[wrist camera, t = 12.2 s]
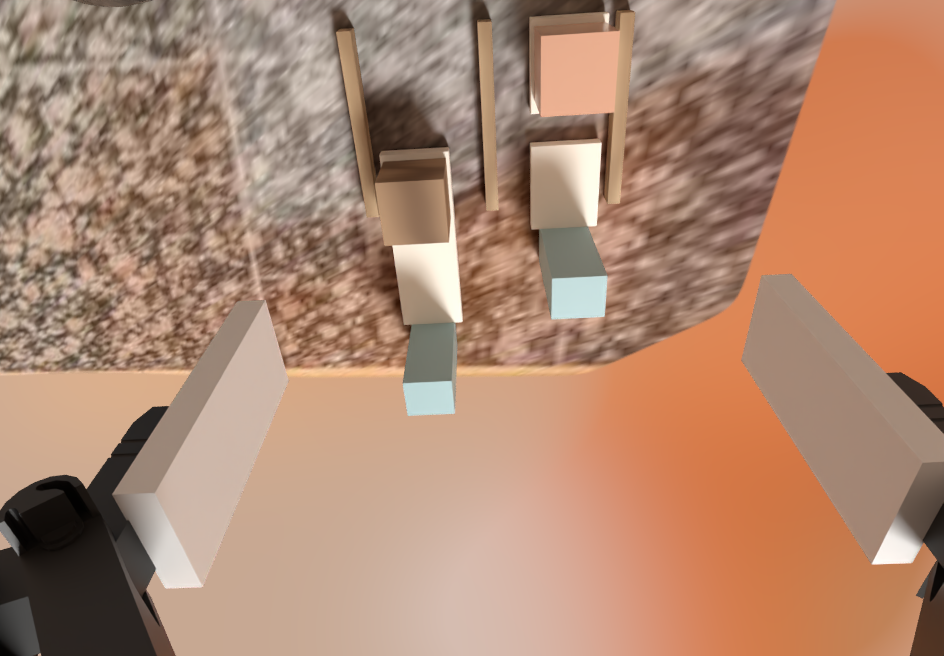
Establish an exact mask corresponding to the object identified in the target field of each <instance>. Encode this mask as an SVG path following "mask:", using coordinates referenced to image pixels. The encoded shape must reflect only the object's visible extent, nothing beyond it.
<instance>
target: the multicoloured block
mask: <svg viewBox="0 0 944 656" xmlns="http://www.w3.org/2000/svg"><path fill="white" fill-rule="evenodd" d="M379 157H380V164H381V166H382V164H383V162H385V161H402V160H419V159H436V158H446V165H447V177H448V188H449V200H450V212H451V222H450V235H449V243H430V244H412V245H393V246H392V247H393V253H394V260H395V267H396V274H397V281H398V288H399V295H400V302H401V309H402V315H403V322H404V325H412V327H411V333H410V340H409V346H408V352H407V359H406V365H405V372H404V378H403V389H404V394H405V401H406V407H407V414H408V416H412V415H433V414H454V413H455V396H456V369H457V336H456V325H455V322H462V316H463V315H462V302H461V290H460V277H459V265H458V252H457V240H456V227H455V215H454V202H453V190H452V177H451V165H450V152H449V147H441V148H424V149H407V150H390V151H381V153H380V155H379Z"/></svg>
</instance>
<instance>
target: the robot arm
mask: <svg viewBox="0 0 944 656" xmlns="http://www.w3.org/2000/svg"><path fill="white" fill-rule="evenodd" d="M74 1H77V2H80V3H85V4H89V5H95V6H103V7H123V6H129V5H135V4H140V3H145V2H149V1H152V0H74ZM742 362H743V364H744V365H745V367H746V368H747V370H748V372H749V373H750V375H751V376H752V378H753V379H754V381H755V382H756V384H757V386H758V387H759V389H760V390H761V392H762V393H763V395H764V397H765V398H766V400H767V401H768V403H769V404H770V406H771V407H772V409H773V411H774V412H775V414H776V415H777V417H778V418H779V420H780V422H781V423H782V425H783V426H784V428H785V429H786V431H787V433H788V434H789V436H790V437H791V439H792V440H793V442H794V443H795V445H796V447H797V448H798V450H799V451H800V453H801V454H802V456H803V458H804V459H805V461H806V462H807V464H808V465H809V467H810V469H811V470H812V472H813V473H814V475H815V476H816V478H817V480H818V481H819V483H820V484H821V486H822V487H823V489H824V491H825V492H826V494H827V495H828V497H829V498H830V500H831V501H832V503H833V505H834V506H835V508H836V509H837V511H838V512H839V514H840V515H841V517H842V519H843V520H844V522H845V523H846V525H847V527H848V528H849V530H850V531H851V533H852V534H853V536H854V538H855V539H856V541H857V542H858V544H859V545H860V547H861V548H862V550H863V552H864V553H865V555H866V556H867V558H868V559H869V561H870V563H871V564H894V563H912V562H913V560H914V559H915V557H916V555H917V553H918V551H919V550H920V548H921V546H922V544H923V543H925V544H926V546H927V547H928V548H929V550H930V551H931V552H932V554H933V555H934V556H935V558H936V559H937V561H936V562H935V564H934V566H933V567H932V569H931V571H930V573H929V574H928V576H927V578H926V579H925V581H924V583H923V584H922V586H921V588H920V589H919V591H918V593H917V594H916V596H918V597H920V598H924V599H923V603H922V608H921V612H920V616H919V620H918V624H917V628H916V632H915V637H914V641H913V645H912V650H911V653H910V656H944V407H943V406H942V403H941V402H940V401H939V400H938V399H937V398H936V397H935V396H934V395H933V394H932V393H931V392H930V391H929V390H928V389H927V388H926V387H925V386H923V385H922V384H920V383H918V382H916V381H915V380H913V379H911V378H909V377H908V376H906V375H905V374H903V373H901V372H899V373H885V372H884V371H883V370H882V369H881V368H880V367H879V365H878V364H877V363H876V362H875V361H874V360H873V359H872V358H871V357H870V356H869V355H868V354H867V353H866V352H865V351H864V350H863V349H862V348H861V347H860V346H859V345H858V343H856V342H855V340H854V339H853V338H852V337H851V336H850V335H849V334H848V333H847V332H846V331H845V330H844V329H843V328H842V327H841V326H840V325H839V323H838V322H837V321H835V319H834V318H833V317H832V316H831V315H830V314H829V313H828V312H827V311H826V310H825V309H824V308H823V307H822V306H821V305H820V304H819V303H818V301H817V300H816V299H815V298H814V297H812V295H811V294H810V293H809V292H808V291H807V290H806V289H805V288H804V287H803V286H802V285H801V284H800V283H799V282H798V280H797V279H796V278H795V277H794V276H793V275H792V274H780V275H762V276H761V280H760V284H759V289H758V293H757V297H756V301H755V305H754V309H753V314H752V318H751V322H750V326H749V331H748V335H747V340H746V343H745V348H744V352H743V356H742ZM287 384H288V377H287V373H286V370H285V366H284V363H283V359H282V356H281V352H280V349H279V345H278V342H277V339H276V335H275V332H274V328H273V325H272V321H271V318H270V314H269V311H268V307H267V304H266V300H256V301H237V303H236V304H235V306H234V307H233V309H232V310H231V312H230V313H229V315H228V317H227V318H226V320H225V321H224V323H223V324H222V326H221V327H220V329H219V330H218V332H217V334H216V335H215V337H214V338H213V340H212V341H211V343H210V344H209V346H208V347H207V349H206V350H205V352H204V354H203V355H202V357H201V358H200V360H199V361H198V363H197V364H196V366H195V367H194V369H193V370H192V372H191V374H190V375H189V377H188V378H187V380H186V381H185V383H184V384H183V386H182V388H181V389H180V391H179V392H178V394H177V395H176V397H175V398H174V400H173V401H172V403H171V404H170V406H162V407H152V408H151V409H150V410H148V411H147V412H146V413H145V414H143V415H142V416H141V417H140V418H138V419H137V420H136V421H135V422H133V424H132V425H131V427H130V428H129V429H128V431H127V433H126V434H125V435H124V437H123V438H122V439H121V443H119V444H118V445H117V447H116V448H115V449H114V451H113V452H112V454H111V458H108V459H107V461H106V462H105V464H104V465H103V466H102V468H101V469H100V471H99V472H98V474H97V475H96V476H95V478H94V479H93V481H92V482H91V484H90V485H89V487H88V488H87V489H86V488H85V487H84V485H83V484H82V482H81V481H80V480H79V479H78V478H77V477H73V476H68V475H60V476H52V477H49V478H46V479H43V480H40V481H37V482H35V483H33V484H31V485H29V486H28V487H26V488H24V489H22V490H20V491H19V492H18V493H16V494H15V495H14V496H13V497H12V498H11V499H10V500H8V501H7V502H6V503H5V505H4V506H3V507H2V509H1V510H0V532H1V533H2V534H3V536H4V537H5V538H6V539H7V541H8V542H9V543H10V545H11V546H12V547H10V548H7V549H3V550H0V656H38V654H39V653H41V656H175V653H174V651H173V649H172V646H171V644H170V641H169V639H168V637H167V634H166V632H165V629H164V627H163V625H162V622H161V620H160V618H159V615H158V613H157V610H156V608H155V606H154V603H153V601H152V599H151V597H150V595H149V593H148V592H147V590H146V588H147V586H148V584H149V582H150V580H151V578H152V576H153V574H154V572H155V571H156V573H157V575H158V576H159V578H160V580H161V582H162V584H163V585H164V587H165V588H190V587H191V588H193V587H203V586H204V583H205V581H206V578H207V576H208V573H209V571H210V569H211V566H212V564H213V562H214V559H215V557H216V554H217V552H218V550H219V547H220V545H221V542H222V540H223V537H224V535H225V533H226V530H227V528H228V526H229V523H230V521H231V518H232V516H233V513H234V511H235V509H236V506H237V504H238V501H239V499H240V497H241V494H242V492H243V489H244V487H245V485H246V482H247V480H248V477H249V475H250V473H251V470H252V468H253V465H254V463H255V460H256V458H257V456H258V453H259V451H260V448H261V446H262V444H263V441H264V439H265V437H266V434H267V432H268V429H269V427H270V425H271V422H272V420H273V417H274V415H275V413H276V410H277V408H278V405H279V403H280V400H281V398H282V396H283V393H284V391H285V389H286V386H287Z"/></svg>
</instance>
